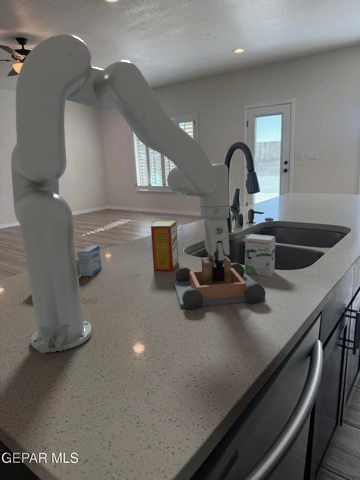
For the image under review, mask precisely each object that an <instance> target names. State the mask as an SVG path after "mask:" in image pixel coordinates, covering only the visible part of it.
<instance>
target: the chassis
mask: <svg viewBox="0 0 360 480" xmlns="http://www.w3.org/2000/svg"><path fill="white" fill-rule="evenodd" d="M245 274H246V273H245V267H243V265H242V264H241V263H238V262H233V263H232V262H231V282H228V283H217V284H205V283H204V281H203V279H202V269H200V270H191V269H190V268H189V267H185V266H182V267H179V268H178V269H177V270H176V271H175V274H174V276H175V277H174V278H175V280H176V281H174V283H173V284H174V289H175V292H176V296H177V300H178V303H179V307H180V309H185V308H187V309H188V310H197V309H199V308H200V307H205V306H206V307H207V306H217V305H218V306H219V305H226V304H227V305H228V304H238V303H251V304H253V305H255V304H259V303H261V302H263V301H266V290H265V288H264V287H263V286H262V285H261V284H260V283H258V282H252V280H251V279H249V277H248V276H247V275H245Z"/></svg>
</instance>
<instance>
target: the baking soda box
mask: <svg viewBox="0 0 360 480" xmlns="http://www.w3.org/2000/svg"><path fill="white" fill-rule="evenodd" d="M177 227H178V226H177V220H158V221H155V222H154V223H153V224H151V225H150V231H151V232H150V233H151V249H152V259H153V260H152V261H153V264H152V265H153V273H154V272H156V273H157V272H159V273H160V272H162V273H163V272H164V273H167V272H168V273H173V272H174V271H175V269H176V268H177V267H178V265H179V264H180V263H179V248H178V247H179V245H178V244H179V243H178V229H177Z"/></svg>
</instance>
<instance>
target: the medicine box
mask: <svg viewBox="0 0 360 480" xmlns="http://www.w3.org/2000/svg"><path fill="white" fill-rule="evenodd" d="M77 261H79V267H80V272H81V273H80V275H79V276H81V277H93V276H94V275H96V274H97V273H99V272H100V271H101V270H102V269H103V268H102V267H103V266H102V265H103V264H102V259H101V248H100V245H88V246H86V247H84V248H82V249H80V250H78V251H77Z"/></svg>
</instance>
